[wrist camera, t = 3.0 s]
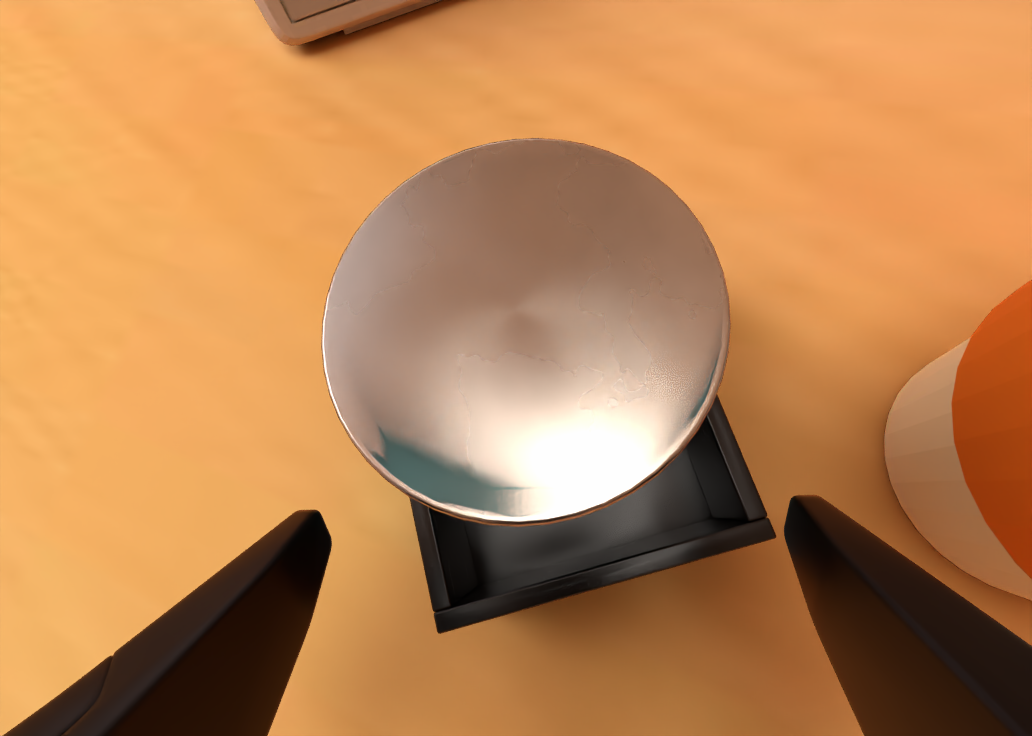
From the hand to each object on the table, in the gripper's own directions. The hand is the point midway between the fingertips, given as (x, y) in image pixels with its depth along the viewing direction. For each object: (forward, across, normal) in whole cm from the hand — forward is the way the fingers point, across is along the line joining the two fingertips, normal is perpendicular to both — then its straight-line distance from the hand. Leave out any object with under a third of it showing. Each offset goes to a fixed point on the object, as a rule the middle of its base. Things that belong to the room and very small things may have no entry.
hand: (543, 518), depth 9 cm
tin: (+9, 0, +5) cm, 10 cm away
